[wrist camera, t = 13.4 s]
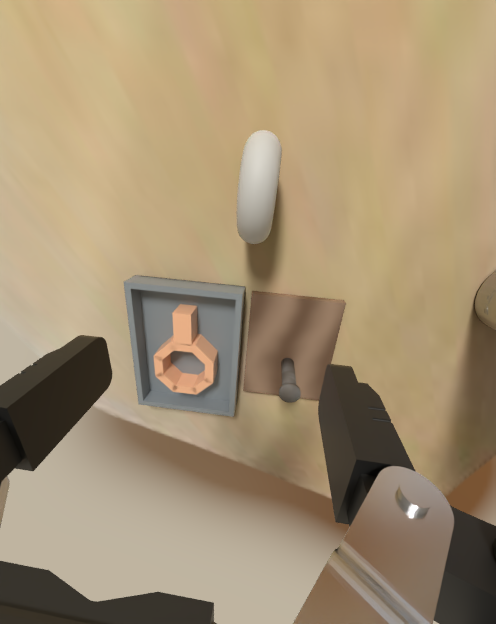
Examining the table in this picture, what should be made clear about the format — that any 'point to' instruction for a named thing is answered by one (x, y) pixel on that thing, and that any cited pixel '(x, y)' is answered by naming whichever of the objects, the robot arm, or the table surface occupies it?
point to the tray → (159, 328)
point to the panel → (290, 344)
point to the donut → (258, 186)
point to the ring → (186, 342)
